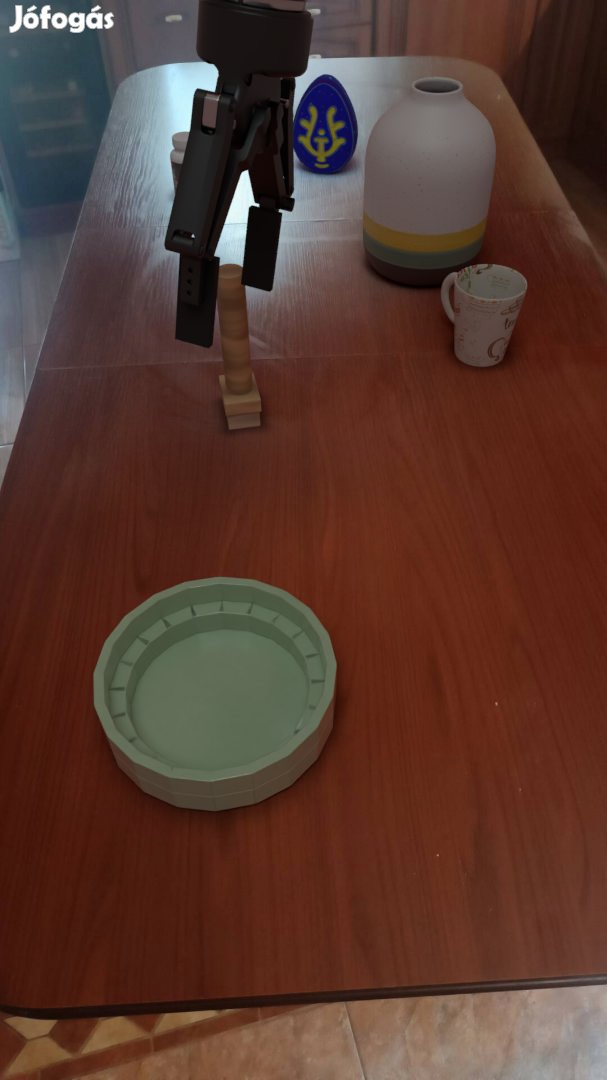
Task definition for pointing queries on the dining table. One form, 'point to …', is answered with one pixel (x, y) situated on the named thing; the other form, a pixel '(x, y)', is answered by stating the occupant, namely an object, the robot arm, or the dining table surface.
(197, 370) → the dining table surface
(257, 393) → the brush
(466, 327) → the mug
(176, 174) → the pill bottle
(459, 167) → the vase
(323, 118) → the ornament
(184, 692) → the bowl
